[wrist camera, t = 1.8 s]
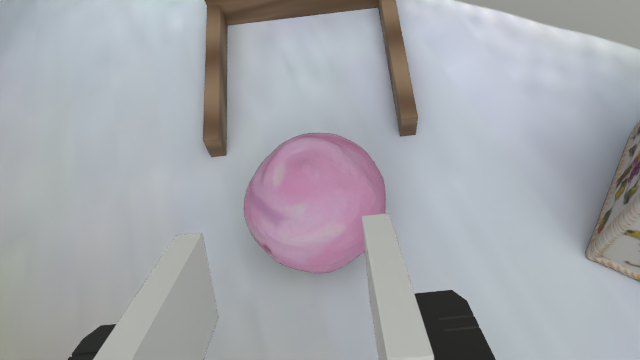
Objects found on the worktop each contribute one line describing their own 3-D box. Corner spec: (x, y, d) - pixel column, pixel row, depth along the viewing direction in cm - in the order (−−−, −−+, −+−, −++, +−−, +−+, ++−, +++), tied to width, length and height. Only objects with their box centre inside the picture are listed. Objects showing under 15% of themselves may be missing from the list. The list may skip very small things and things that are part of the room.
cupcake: (311, 165, 43) (294, 87, 34) (407, 221, 40) (417, 151, 31) (240, 256, 40) (202, 196, 31) (339, 323, 37) (328, 278, 28)
